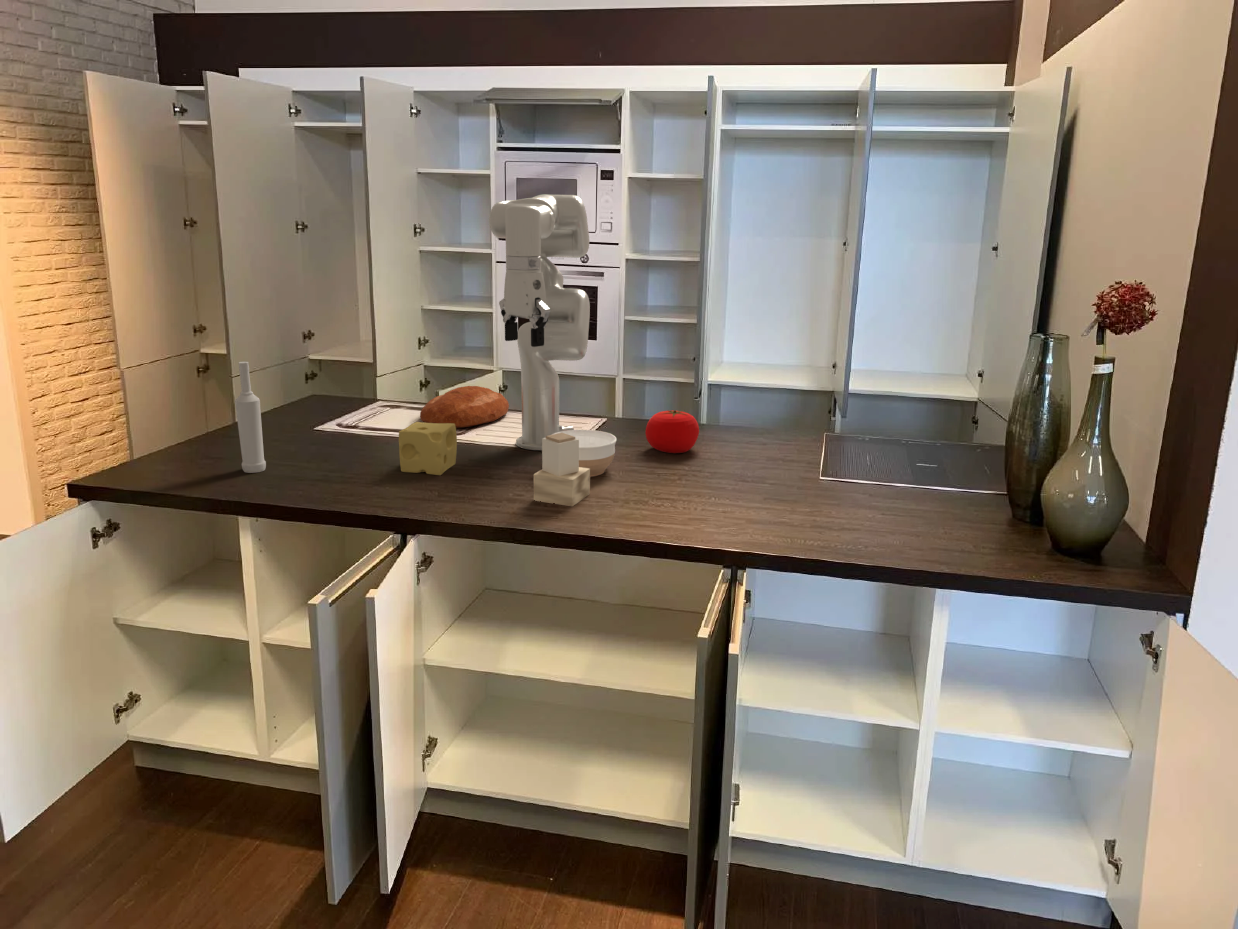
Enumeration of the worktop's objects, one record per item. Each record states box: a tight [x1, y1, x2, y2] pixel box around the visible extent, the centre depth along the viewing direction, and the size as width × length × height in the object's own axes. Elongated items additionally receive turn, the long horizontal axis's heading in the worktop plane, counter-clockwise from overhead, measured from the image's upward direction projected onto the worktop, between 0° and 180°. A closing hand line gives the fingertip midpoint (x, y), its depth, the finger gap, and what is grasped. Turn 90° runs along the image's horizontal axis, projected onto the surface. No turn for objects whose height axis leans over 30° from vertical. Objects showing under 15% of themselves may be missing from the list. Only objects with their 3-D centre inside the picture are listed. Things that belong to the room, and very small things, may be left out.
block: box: [533, 467, 591, 507], centre depth 193 cm, size 9×9×6 cm
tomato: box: [645, 409, 700, 454], centre depth 229 cm, size 14×13×10 cm
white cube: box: [541, 433, 579, 476], centre depth 191 cm, size 6×6×8 cm
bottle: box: [234, 361, 267, 474], centre depth 204 cm, size 5×5×25 cm
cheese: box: [398, 421, 458, 476], centre depth 211 cm, size 10×11×10 cm
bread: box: [419, 385, 510, 429], centre depth 259 cm, size 23×32×9 cm
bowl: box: [552, 429, 617, 478], centre depth 211 cm, size 16×16×8 cm
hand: (524, 343), depth 200 cm, fingers open, 9 cm apart
